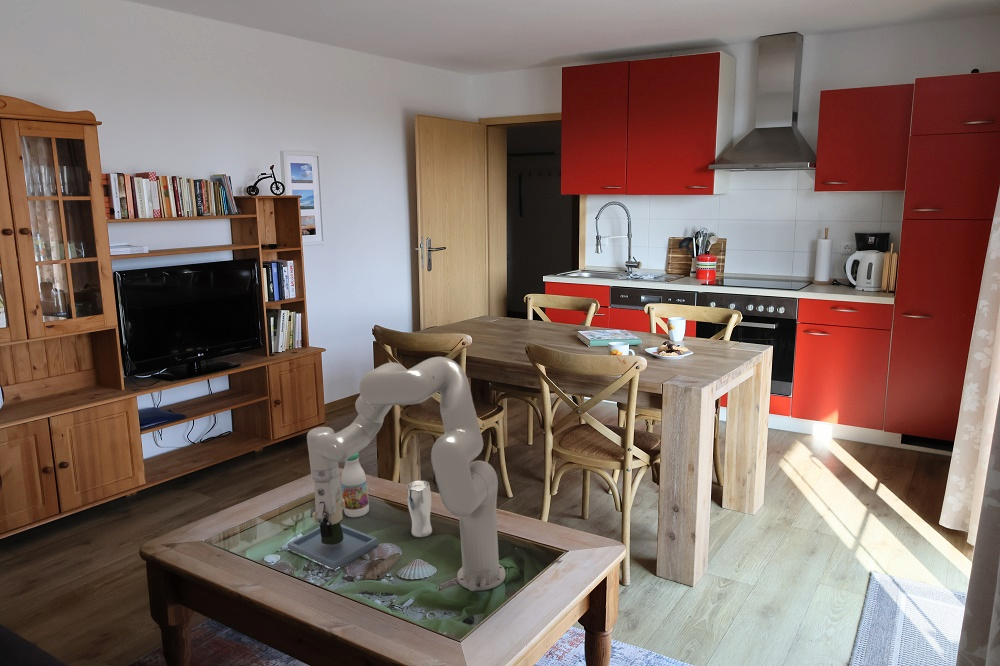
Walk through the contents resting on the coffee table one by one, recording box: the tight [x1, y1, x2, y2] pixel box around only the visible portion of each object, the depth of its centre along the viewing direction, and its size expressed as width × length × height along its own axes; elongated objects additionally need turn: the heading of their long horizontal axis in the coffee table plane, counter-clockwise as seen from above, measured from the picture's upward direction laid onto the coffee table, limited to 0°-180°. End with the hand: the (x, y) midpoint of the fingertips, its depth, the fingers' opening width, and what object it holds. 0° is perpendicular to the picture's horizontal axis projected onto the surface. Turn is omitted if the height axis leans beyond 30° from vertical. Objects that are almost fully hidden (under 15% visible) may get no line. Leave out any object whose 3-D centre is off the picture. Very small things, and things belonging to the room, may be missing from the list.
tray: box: [287, 523, 379, 569], centre depth 208 cm, size 20×16×2 cm
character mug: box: [312, 497, 345, 545], centre depth 206 cm, size 11×7×13 cm, turn 141°
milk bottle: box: [340, 452, 370, 518], centre depth 227 cm, size 8×8×20 cm
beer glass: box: [406, 480, 433, 538], centre depth 213 cm, size 7×7×15 cm
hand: (331, 528), depth 207 cm, fingers closed on character mug, 8 cm apart
